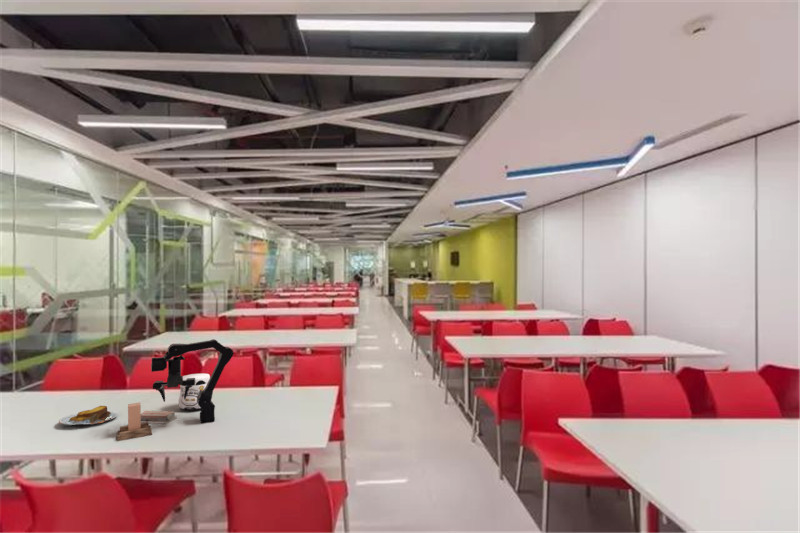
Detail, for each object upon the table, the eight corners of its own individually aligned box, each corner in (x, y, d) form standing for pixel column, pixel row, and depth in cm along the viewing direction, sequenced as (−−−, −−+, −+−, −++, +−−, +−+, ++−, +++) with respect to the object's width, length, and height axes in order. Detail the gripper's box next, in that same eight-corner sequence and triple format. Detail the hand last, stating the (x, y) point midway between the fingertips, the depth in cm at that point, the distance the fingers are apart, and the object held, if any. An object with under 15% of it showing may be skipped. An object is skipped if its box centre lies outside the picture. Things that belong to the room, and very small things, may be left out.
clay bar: (140, 429, 217) (140, 402, 217) (140, 432, 213) (140, 405, 213) (128, 431, 214) (128, 404, 215) (128, 434, 210) (128, 406, 210)
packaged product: (177, 409, 237) (165, 415, 227) (177, 418, 237) (165, 425, 227) (147, 408, 239) (133, 414, 230) (147, 417, 239) (133, 423, 230)
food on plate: (62, 419, 237) (62, 407, 237) (117, 411, 250) (117, 400, 251) (56, 434, 216) (56, 420, 216) (116, 424, 229) (116, 411, 229)
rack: (150, 427, 223) (150, 421, 223) (152, 434, 212) (151, 428, 212) (117, 432, 215) (117, 426, 215) (117, 441, 204) (117, 434, 204)
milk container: (183, 414, 242) (183, 381, 242) (174, 407, 255) (174, 376, 255) (216, 408, 253) (216, 376, 253) (206, 401, 266) (206, 371, 266)
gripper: (150, 374, 213) (150, 407, 213) (193, 370, 219) (193, 402, 219) (154, 369, 223) (154, 400, 223) (195, 366, 230) (195, 396, 229)
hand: (174, 400), depth 223 cm, fingers open, 9 cm apart
